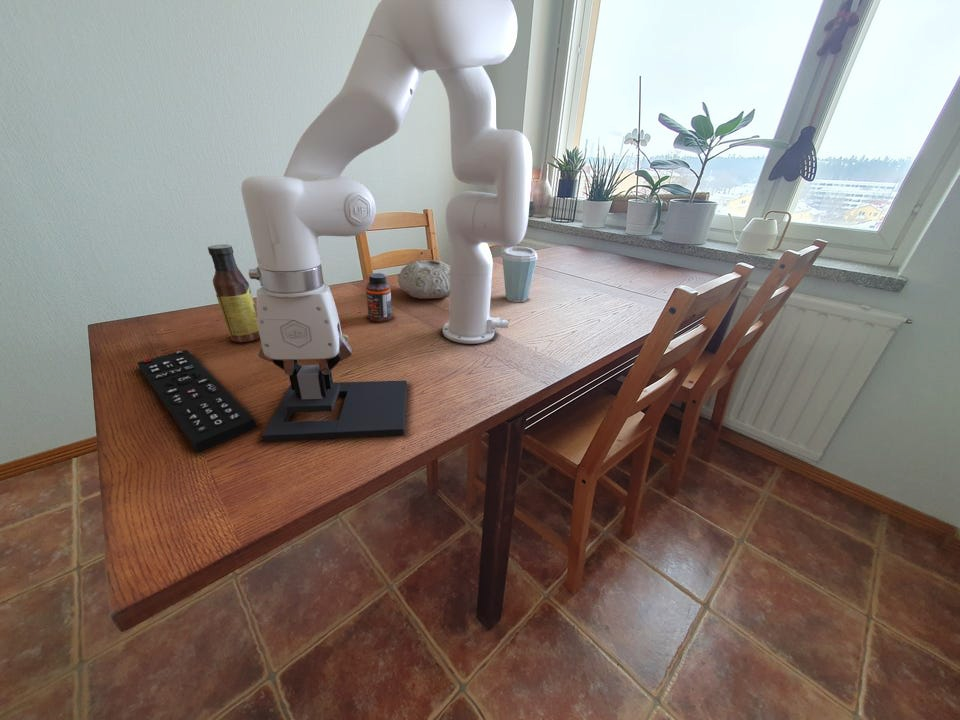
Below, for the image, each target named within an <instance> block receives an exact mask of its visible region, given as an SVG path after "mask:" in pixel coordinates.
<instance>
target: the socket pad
mask: <svg viewBox="0 0 960 720" xmlns="http://www.w3.org/2000/svg"><path fill="white" fill-rule="evenodd" d="M333 383H340V391H339V394H338V397H337V398H344V401H343V404H342V408H341V410H340V414H339V417H338V419H325V420H323V419H322V420H301V421H300V420H299V421H289V420H290V418H291V416H292V414H293V413H287V408H286V406H287V404H288V402H289V400H290V399H291V397H292V395H293V393H294V391H295V390H292V387H291V384H290V385H289V386H288V388H287V390H286V392H285V394H284V395H283V397H282V399H281V401H280V402H279V405H278V406H277V408H276V409H275V411H274V413H273V415H272V416H271V419H270V420H269V422H268V423H267V426H266V427H265V429H264V430H263V433H262V434H261V438H262V442H263V443H268V442H286V441H287V442H289V441H290V442H291V441H309V440H329V439H346V438H347V439H349V438H350V439H351V438H370V437H371V438H372V437H390V436H391V437H393V436H404V435H405V427H406V426H405V425H406V412H407V411H406V409H407V393H408V381H407V380H373V381H372V380H371V381H339V382H338V381H337V382H334V381H333Z"/></svg>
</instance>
